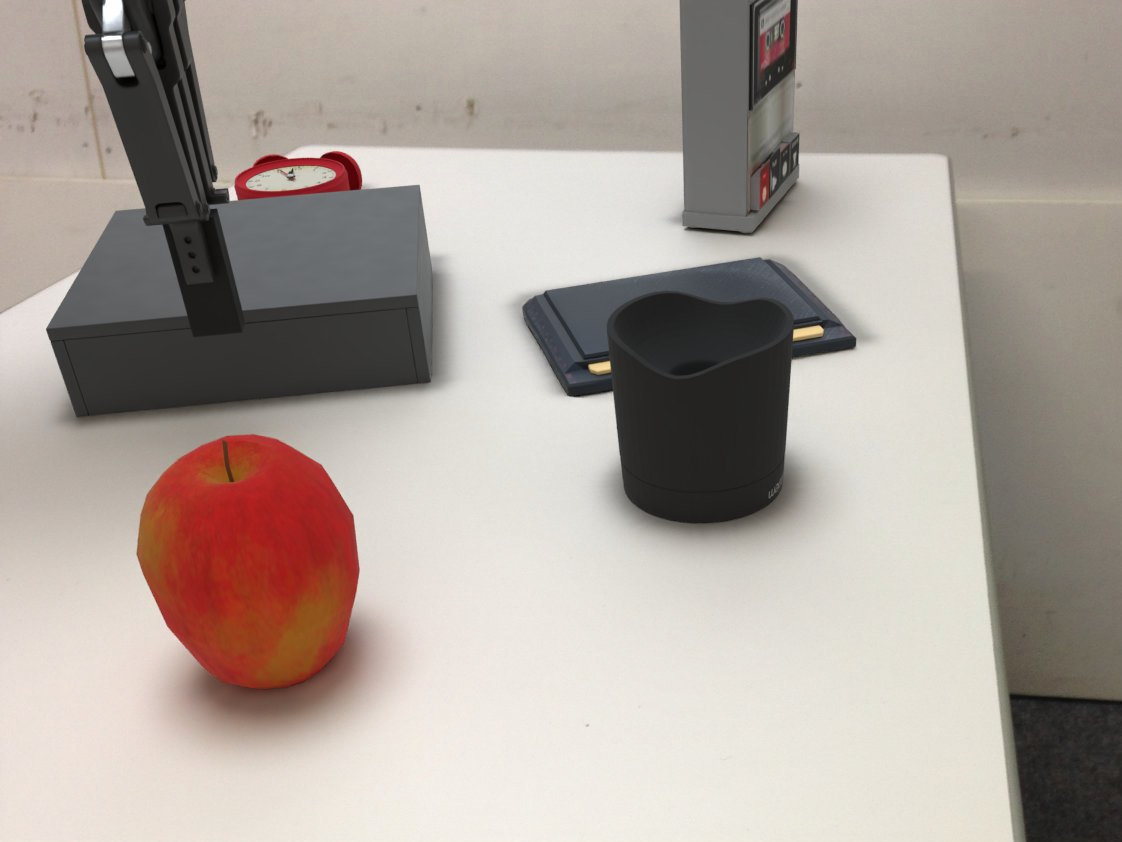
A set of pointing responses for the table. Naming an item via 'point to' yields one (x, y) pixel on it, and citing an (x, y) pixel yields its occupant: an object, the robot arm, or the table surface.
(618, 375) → the pen holder
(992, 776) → the table surface
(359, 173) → the alarm clock
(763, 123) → the cassette tape recorder
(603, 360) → the wallet
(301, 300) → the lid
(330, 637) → the apple
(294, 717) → the table surface
